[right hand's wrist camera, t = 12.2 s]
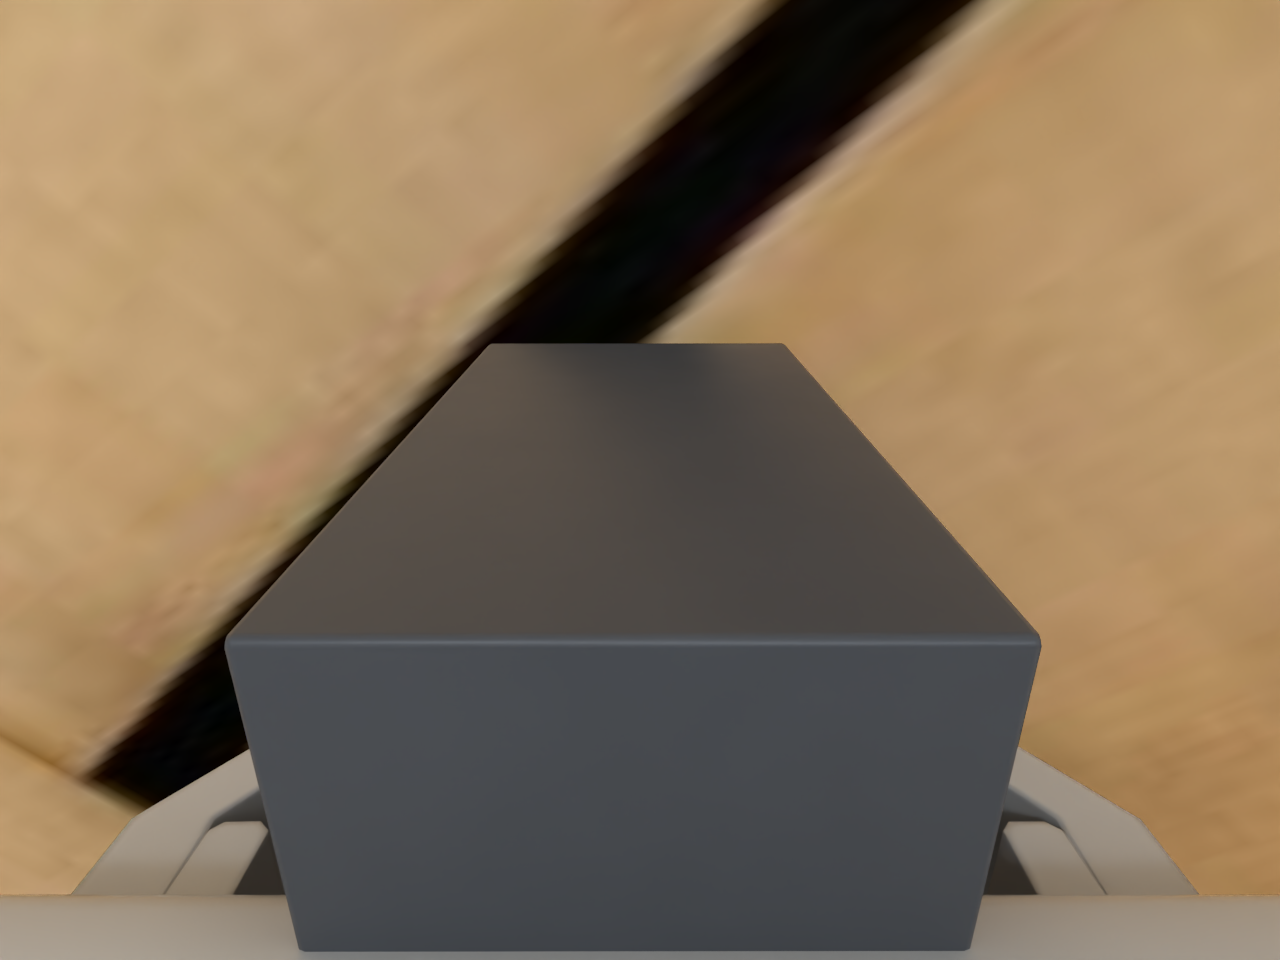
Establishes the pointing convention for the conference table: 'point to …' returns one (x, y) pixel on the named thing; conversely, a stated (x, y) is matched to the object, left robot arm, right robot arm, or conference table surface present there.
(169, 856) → the right robot arm
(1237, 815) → the conference table surface
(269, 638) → the bar
